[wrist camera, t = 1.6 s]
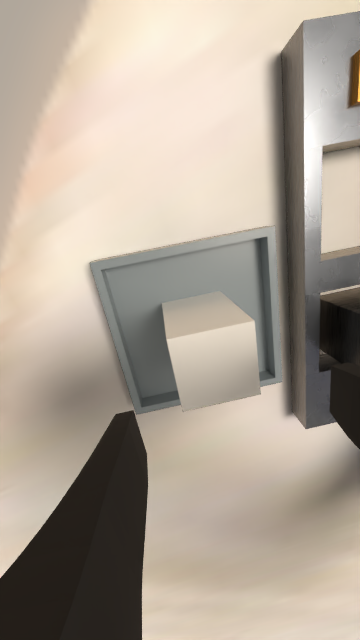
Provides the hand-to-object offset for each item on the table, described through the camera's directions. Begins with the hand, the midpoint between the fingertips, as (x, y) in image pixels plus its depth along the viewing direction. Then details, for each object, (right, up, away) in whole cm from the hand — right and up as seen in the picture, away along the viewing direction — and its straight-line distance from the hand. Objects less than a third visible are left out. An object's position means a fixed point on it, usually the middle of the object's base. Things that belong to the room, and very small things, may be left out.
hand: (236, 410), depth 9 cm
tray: (-1, +3, +9) cm, 9 cm away
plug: (-1, +3, +8) cm, 9 cm away
